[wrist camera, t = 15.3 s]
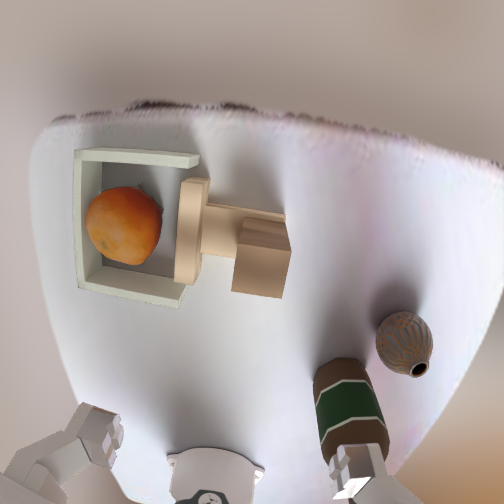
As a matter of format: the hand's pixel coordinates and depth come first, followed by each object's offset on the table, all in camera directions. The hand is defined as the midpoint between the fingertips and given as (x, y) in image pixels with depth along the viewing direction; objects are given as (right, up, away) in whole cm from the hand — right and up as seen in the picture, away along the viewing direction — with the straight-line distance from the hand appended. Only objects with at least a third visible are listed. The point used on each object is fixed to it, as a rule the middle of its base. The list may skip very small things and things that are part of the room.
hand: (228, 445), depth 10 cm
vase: (+19, -2, +27) cm, 33 cm away
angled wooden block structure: (-1, +9, +23) cm, 25 cm away
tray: (-11, +11, +23) cm, 28 cm away
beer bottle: (+13, -10, +30) cm, 34 cm away
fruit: (-12, +11, +23) cm, 28 cm away
